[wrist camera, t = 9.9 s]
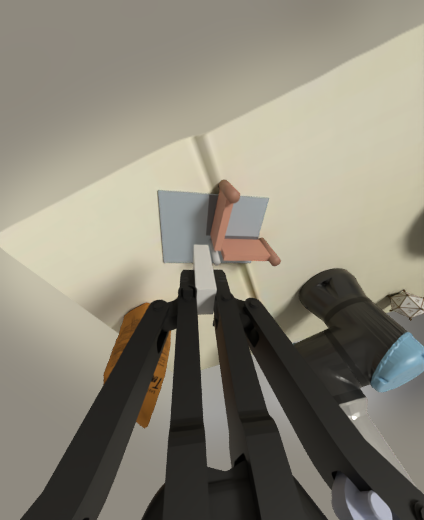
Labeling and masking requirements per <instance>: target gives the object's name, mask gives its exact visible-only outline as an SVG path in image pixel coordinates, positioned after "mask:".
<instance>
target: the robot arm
mask: <svg viewBox="0 0 424 520" xmlns="http://www.w3.org/2000/svg"><path fill="white" fill-rule="evenodd" d="M299 299H300V301H301V303H302V304H303V305H304V307H305V308H306V309H308V310H309V311H311V312H312V313H313V314H314V315H316V316H317V317H318V318H320V319H321V320H322V321H323V322H324V323H325V324H326V325H327V327H328V329H326V330H324V331H322V332H319V333H317V334H315V335H313V336H311V337H308V338H306V339H304V340H302V341H300V342H297V343H293V344H292V342H291V341H290V340H289V338H288V337H287V336H286V335H285V333H284V332H283V331H282V329H281V328H280V327H279V325H278V324H277V323H276V321H275V320H274V319H273V317H272V316H271V315H270V313H269V312H268V311H267V310H266V308H265V307H264V306H263V304H262V303H261V302H260V301H259V300H257V299H255V298H248V299H246V301H242V300H238V299H236V298H234V296H233V295H232V294H231V293H230V289H229V286H228V282H227V279H226V275H225V273H224V272H223V271H222V270H213V267H212V262H211V256H210V251H209V246H208V245H194V252H193V270H183V271H182V272H181V276H180V288H179V290H178V298H177V299H175V300H174V301H171V302H168V303H167V302H166V301H164V300H156V301H153V302H152V303H151V304H150V305H149V306H148V308H147V310H146V312H145V313H144V315H143V317H142V319H141V320H140V322H139V324H138V326H137V327H136V329H135V331H134V333H133V334H132V336H131V338H130V340H129V341H128V343H127V345H126V347H125V348H124V350H123V352H122V354H121V355H120V357H119V359H118V361H117V362H116V364H115V366H114V368H113V369H112V371H111V373H110V375H109V376H108V378H107V380H106V382H105V383H104V385H103V387H102V389H101V391H100V392H99V394H98V396H97V398H96V399H95V401H94V403H93V405H92V406H91V408H90V410H89V412H88V413H87V415H86V417H85V419H84V420H83V422H82V424H81V426H80V428H79V429H78V431H77V433H76V434H75V436H74V438H73V440H72V441H71V443H70V445H69V447H68V448H67V450H66V452H65V454H64V455H63V457H62V459H61V461H60V462H59V464H58V466H57V468H56V470H55V471H54V473H53V475H52V477H51V478H50V480H49V482H48V484H47V485H46V487H45V489H44V491H43V492H42V494H41V495H40V496H39V497H38V498H37V500H36V501H35V502H34V503H33V505H32V506H31V507H30V508H29V509H28V511H27V512H26V513H25V514H24V516H23V517H22V518H21V519H20V520H97V518H98V516H99V514H100V512H101V510H102V507H103V505H104V503H105V501H106V499H107V496H108V494H109V491H110V489H111V486H112V484H113V482H114V479H115V476H116V474H117V471H118V468H119V465H120V463H121V460H122V458H123V455H124V452H125V450H126V447H127V444H128V442H129V439H130V436H131V433H132V431H133V428H134V425H135V423H136V420H137V418H138V415H139V412H140V409H141V407H142V404H143V401H144V399H145V396H146V393H147V391H148V388H149V385H150V383H151V380H152V377H153V375H154V372H155V369H156V367H157V364H158V361H159V359H160V356H161V353H162V351H163V348H164V345H165V343H166V340H167V337H168V335H169V332H170V331H171V330H174V329H176V328H177V329H176V344H175V359H174V374H173V375H174V376H173V389H172V405H171V421H170V430H169V437H168V450H167V451H168V452H167V465H166V480H165V483H164V485H162V487H161V488H160V489H159V490H158V492H157V493H156V494H155V496H154V497H153V499H152V500H151V502H150V504H149V506H148V508H147V509H146V511H145V513H144V515H143V517H142V519H141V520H328V519H327V518H326V516H325V515H324V514H323V513H322V511H321V510H320V509H319V508H318V506H317V505H316V504H315V503H314V501H313V500H312V499H311V497H310V496H309V495H308V494H307V492H306V491H305V490H304V489H303V487H302V486H301V485H300V484H299V482H298V481H297V480H296V479H295V477H294V476H293V475H292V472H291V469H290V466H289V463H288V460H287V456H286V453H285V450H284V447H283V443H282V440H281V437H280V434H279V431H278V428H277V425H276V423H275V421H274V420H273V418H272V417H271V416H270V415H269V413H268V411H267V408H266V404H265V401H264V397H263V394H262V391H261V387H260V384H259V380H258V377H257V373H256V370H255V367H254V363H253V360H252V356H251V353H250V350H249V347H250V349H251V351H252V353H253V355H254V356H255V358H256V360H257V362H258V364H259V366H260V368H261V369H262V371H263V373H264V375H265V376H266V379H267V380H268V382H269V384H270V386H271V388H272V389H273V392H274V393H275V395H276V397H277V399H278V401H279V402H280V404H281V406H282V408H283V410H284V412H285V414H286V416H287V417H288V419H289V421H290V423H291V425H292V426H293V428H294V430H295V432H296V434H297V436H298V438H299V440H300V441H301V443H302V445H303V447H304V449H305V450H306V452H307V454H308V456H309V458H310V459H311V461H312V462H313V464H314V466H315V467H316V469H317V470H318V472H319V473H320V475H321V476H322V478H323V479H324V481H325V482H326V483H327V485H328V486H329V487H330V489H331V490H332V507H333V510H334V512H335V514H336V516H337V517H338V518H339V519H340V520H424V494H423V493H422V492H421V491H420V490H418V489H417V487H416V486H415V484H414V483H413V481H412V480H411V478H410V477H409V475H408V474H407V472H406V471H405V469H404V468H403V466H402V465H401V463H400V462H399V460H398V459H397V457H396V456H395V454H394V453H393V451H392V450H391V448H390V447H389V445H388V444H387V442H386V441H385V439H384V438H383V436H382V435H381V433H380V432H379V430H378V429H377V427H376V426H375V424H374V423H373V421H372V420H371V418H370V417H369V415H368V413H367V401H368V400H367V398H366V396H365V395H364V394H363V392H362V391H361V389H360V388H361V387H363V386H366V385H369V384H371V386H372V388H374V389H375V390H376V391H378V392H385V391H388V390H392V389H394V388H397V387H399V386H401V385H403V384H405V383H407V382H408V381H410V380H411V379H413V378H415V377H416V376H418V375H419V374H421V373H422V372H423V371H424V347H423V346H422V345H421V344H420V343H419V342H418V341H417V340H416V339H415V338H414V337H413V335H412V334H411V333H410V332H407V331H406V330H405V329H404V328H403V327H401V326H400V325H399V324H398V323H397V322H395V321H394V320H393V319H392V318H391V317H390V316H389V315H387V314H386V313H385V312H384V311H383V310H382V309H380V308H379V307H378V306H377V305H376V304H375V303H373V302H372V301H371V300H370V299H369V298H368V297H367V296H366V295H365V293H364V291H363V290H362V288H361V287H360V285H359V283H358V282H357V280H356V278H355V277H354V276H353V275H352V274H351V273H349V272H348V271H347V270H345V269H339V268H337V269H330V270H327V271H324V272H321V273H319V274H317V275H316V276H314V277H313V278H311V279H310V280H309V281H308V282H307V283H306V284H305V285H304V286H303V287H302V289H301V291H300V294H299ZM213 311H214V321H213V326H215V333H216V340H217V348H218V355H219V362H220V369H221V377H222V384H223V391H224V399H225V406H226V413H227V420H228V428H229V449H230V458H231V465H232V468H231V469H230V470H228V471H222V470H217V469H214V468H210V467H207V459H206V443H205V442H206V441H205V430H204V423H203V408H202V389H201V370H200V351H199V332H198V315H201V314H213ZM248 345H249V346H248ZM356 378H357V379H356Z"/></svg>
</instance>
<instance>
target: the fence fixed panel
mask: <svg viewBox="0 0 424 520" xmlns="http://www.w3.org/2000/svg"><path fill="white" fill-rule="evenodd" d="M209 245H210V249H211V253H212V258H213V262H214V264H215V265H219V264H220V263H221V261H220V258H219V254H218V251H215V250H214V247H213V243H212V239H209ZM221 254H222V257H223V260H224V261H269V262H270V263H271V265H272V266H277V265H279V264H280V262H281V260H280V258H279V257H278V256H277V254H276V253H275V252H274V251H273V249H272V248H271V247H270V246H269V244H268V243H267V242H266V241H265V239H264V238H259V239H258V240H253V239H224V242H223V246H222V249H221Z"/></svg>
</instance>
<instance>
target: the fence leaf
mask: <svg viewBox="0 0 424 520" xmlns="http://www.w3.org/2000/svg"><path fill="white" fill-rule="evenodd" d="M219 188H220V191H219V195H218V200H217V205H216V210H215V215H214V219H213V224H212V229H211V234H210V235H211V239H212V243H213V247H214V250H215V251H221V249H222V246H223V242H224V238H225V234H226V231H227V227H228V223H229V219H230V215H231V212H232V208H233V204H234V203H237V202H238V201H239V199H240V193H239V192H238V191H237V190H236V189H235V188H234V187H233V186H232V185H231V184H230V183H229V182H228V181H227V180H222V181H221V182H220V183H219Z"/></svg>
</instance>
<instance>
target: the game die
mask: <svg viewBox="0 0 424 520" xmlns="http://www.w3.org/2000/svg"><path fill="white" fill-rule="evenodd" d="M403 291H404V292H402V293H400V294H397V295H394V296H392V297H390V296H388V297H390V300H391V307H392V310H389V311H395V312H397V313H400V314H402V315H404V316H407V317H409V320H410V321H411V320H412V319H411V318H412V317H414V316H417V315H420V314H423V313H424V298H422V297H419V296H416V295H413V294H410V293H407V292H405V290H403Z"/></svg>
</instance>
